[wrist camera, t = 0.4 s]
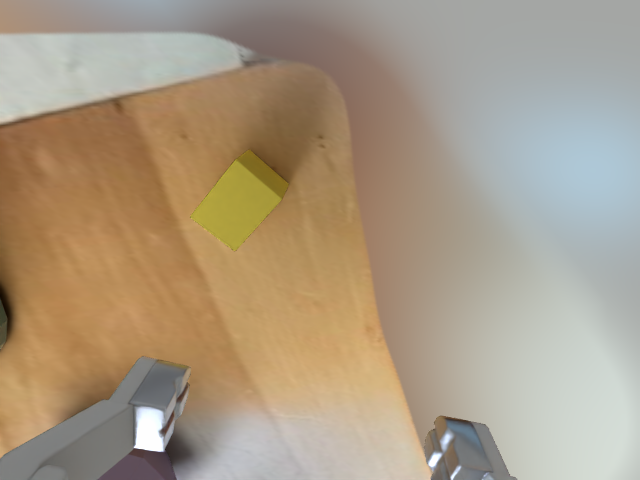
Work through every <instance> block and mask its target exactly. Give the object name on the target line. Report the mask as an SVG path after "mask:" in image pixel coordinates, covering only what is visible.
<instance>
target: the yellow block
mask: <svg viewBox="0 0 640 480" xmlns="http://www.w3.org/2000/svg"><path fill="white" fill-rule="evenodd" d="M288 186H289V184H288V183H287V182H286V181H285V180H284V179H283V178H281V177H280V176H279V175H278V174H277V173H276V172H275V171H273V170H272V169H271V168H270V167H269V166H268V165H267V164H265V163H264V162H263V161H262V160H261V159H260V158H259V157H257V156H256V155H255V154H254V153H253V152H252V151H251V150H248V151H246V152H245V153H243V154H242V155H241V156H239V157H238V158H237V159H235V160H234V162H233V163H232V164H231V165H230V167H229V168H228V169H227V171H226V172H225V173H224V174H223V176H222V177H221V178H220V179H219V181H218V182H217V183H216V184H215V186H214V187H213V188H212V189H211V191H210V192H209V193H208V194H207V196H206V197H205V198H204V200H203V201H202V202H201V203H200V205H199V206H198V207H197V208H196V210H195V211H194V212H193V213H192V215H191V216H190V218H192V219H193V220H194V221H195V222H197V223H198V224H199V225H201V226H202V227H203V228H205V229H206V230H207V231H209V232H210V233H211V234H212V235H214V236H215V237H216V238H218V239H219V240H220V241H222V242H223V243H224V244H226V245H227V246H228V247H229V248H231V249H232V250H233V251H236V250H237V249H238V248H239V247H240V246H241V244H242V243H243V242H244V241H245V240H246V239H247V238H248V237H249V236H250V234H251V233H252V232H253V231H254V230H255V229H256V228H257V227H258V226H259V224H260V223H261V222H262V221H263V220H264V219H265V218H266V217H267V216H268V215H269V213H270V212H271V211H272V210H273V209H274V208H275V207H276V206H277V205H278V203H279V202H280V201H281V200H282V199H283V196H284V194H285V192H286V190H287V188H288Z"/></svg>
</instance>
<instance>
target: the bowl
mask: <svg viewBox="0 0 640 480" xmlns="http://www.w3.org/2000/svg"><path fill="white" fill-rule="evenodd" d="M6 336H7V316H6V313H5V310H4V307H3V305H2V302H1V299H0V350H1V348H2V347H3V345H4V344H5V342H6Z"/></svg>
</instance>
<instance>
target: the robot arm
mask: <svg viewBox="0 0 640 480" xmlns="http://www.w3.org/2000/svg"><path fill="white" fill-rule="evenodd" d="M190 375H191V367H190V366H186V365H181V364H177V363H172V362H168V361H163V360H159V359H154V358H149V357H144V356H142V357H141V358H139V359H138V360H137V361H136V363H135V364H134V365H133V367H132V368H131V369H130V371H129V372H128V374H127V375H126V376H125V378H124V379H123V381H122V382H121V383H120V385H119V386H118V387H117V389H116V390H115V392H114V393H113V394H112V396H111V397H110V399H109V400H105V399H103V400H101V401H99V402H97V403H96V404H94V405H92V406H90V407H89V408H87V409H85V410H83V411H81V412H80V413H78V414H76V415H74V416H72V417H71V418H69V419H67V420H65V421H63V422H62V423H60V424H58V425H56V426H54V427H53V428H51V429H49V430H47V431H46V432H44V433H42V434H40V435H38V436H37V437H35V438H33V439H31V440H29V441H28V442H26V443H24V444H22V445H20V446H19V447H17V448H15V449H13V450H12V451H10V452H8V453H6V454H4V455H3V457H2V458H1V459H0V480H97V479H98V478H100V477H101V476H102V475H103V474H104V473H106V472H107V471H108V470H109V469H110V468H112V467H113V466H114V465H115V464H116V463H118V462H119V461H120V460H121V459H123V458H124V457H125V456H126V455H127V454H129V453H130V452H131V451H132V450H133V448H140V449H147V450H153V451H160V452H164V450H165V448H166V446H167V443H168V441H169V439H170V437H171V435H172V433H173V431H174V421H175V420H176V419H177V418H179V417H180V416H181V413H182V411H183V409H184V406H185V404H186V401H187V398H188V393H189V386H190V385H189V383H188V382H187V381H188V379H189V377H190ZM434 424H435V429H433V430H431V431H429V433H428V434H427V437H426V439H425V446H424V449H425V457H426V462H427V464H428V465H429V467H430V468H431V469H432V470H433V474H432V476H431V480H517V479H516V478H515V477H512V476H510V474H509V472H508V470H507V468H506V465H505V463H504V461H503V459H502V457H501V454H500V452H499V450H498V448H497V446H496V444H495V441H494V439H493V437H492V435H491V433H490V431H489V428H488V427H487V426H486V425H485V424H481V423H476V422H471V421H467V420H462V419H456V418H451V417H446V416H439V417H437V418H436V420H435V422H434Z"/></svg>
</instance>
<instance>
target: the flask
mask: <svg viewBox="0 0 640 480" xmlns="http://www.w3.org/2000/svg"><path fill="white" fill-rule="evenodd" d="M97 480H177V479H176V476H175V473H174V470H173V467H172V465H171V462H170V459H169V456H168V453H167V452H166V451H165V450H164V452H160V451H153V450H147V449H140V448H133V450H132V451H131V452H130V453H129V454H127V455H126V456H125V457H124V458H123V459H121V460H120V461H119V462H118V463H116V464H115V465H114V466H113V467H112V468H110V469H109V470H108V471H107V472H106V473H104V474H103V475H102V476H101V477H100V478H98V479H97Z"/></svg>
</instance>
